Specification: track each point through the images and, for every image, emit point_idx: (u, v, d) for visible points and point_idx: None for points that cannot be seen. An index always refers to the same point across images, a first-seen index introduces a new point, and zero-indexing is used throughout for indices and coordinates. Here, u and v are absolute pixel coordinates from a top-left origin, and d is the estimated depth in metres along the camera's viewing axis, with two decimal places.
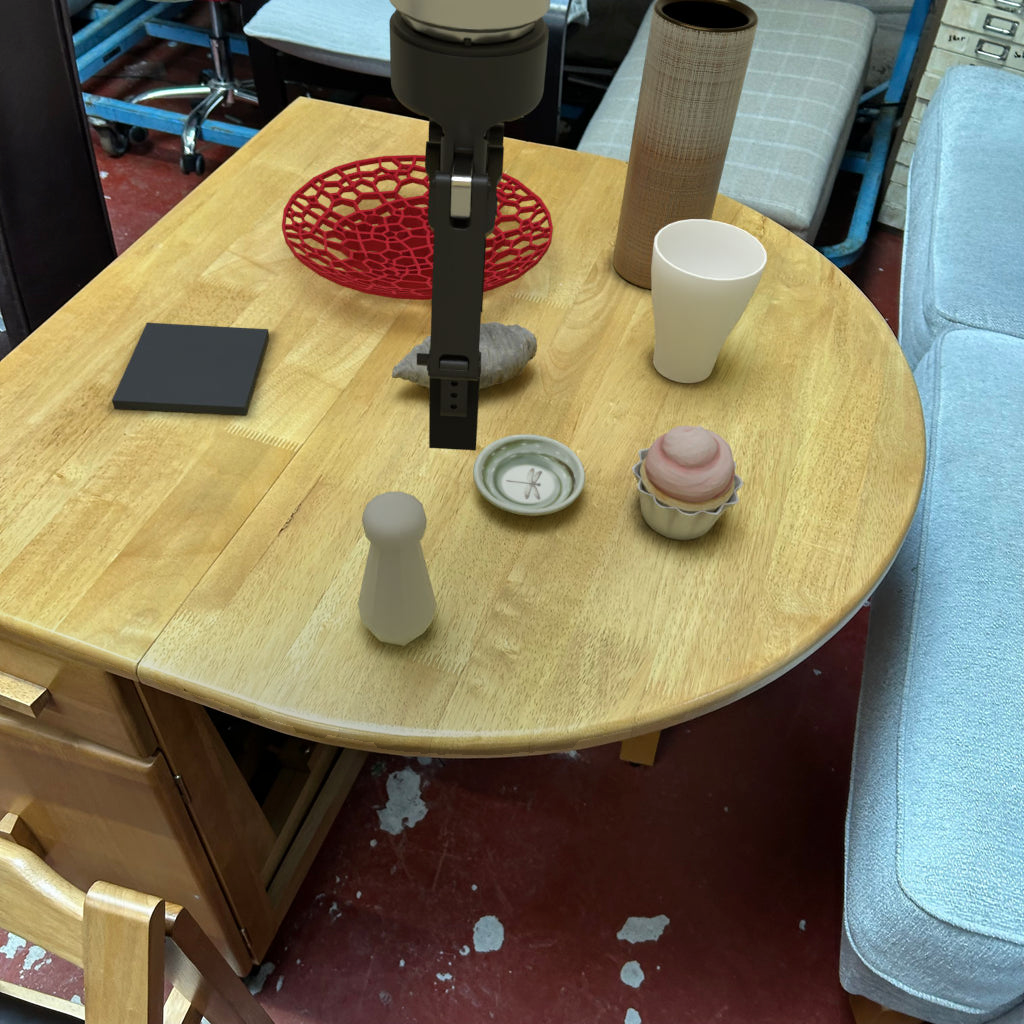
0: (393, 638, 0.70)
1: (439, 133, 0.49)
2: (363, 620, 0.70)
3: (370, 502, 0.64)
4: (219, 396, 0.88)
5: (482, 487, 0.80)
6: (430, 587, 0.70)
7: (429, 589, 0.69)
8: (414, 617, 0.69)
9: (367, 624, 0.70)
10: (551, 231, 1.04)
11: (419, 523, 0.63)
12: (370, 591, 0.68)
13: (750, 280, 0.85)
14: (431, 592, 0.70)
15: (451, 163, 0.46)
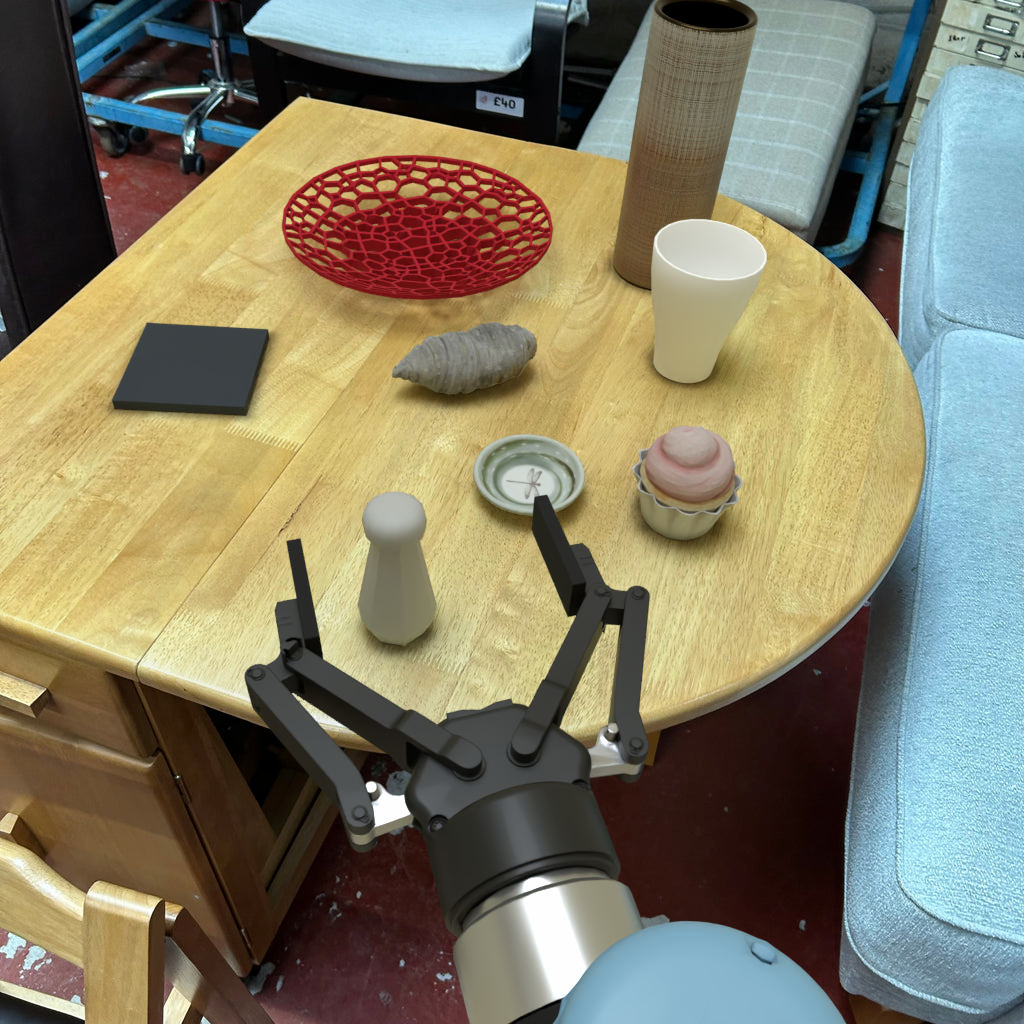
0: (393, 638, 0.70)
1: (512, 754, 0.42)
2: (363, 620, 0.70)
3: (370, 502, 0.64)
4: (219, 396, 0.88)
5: (482, 487, 0.80)
6: (430, 587, 0.70)
7: (429, 589, 0.69)
8: (414, 617, 0.69)
9: (367, 624, 0.70)
10: (551, 231, 1.04)
11: (419, 523, 0.63)
12: (370, 591, 0.68)
13: (750, 280, 0.85)
14: (431, 592, 0.70)
15: (408, 809, 0.41)
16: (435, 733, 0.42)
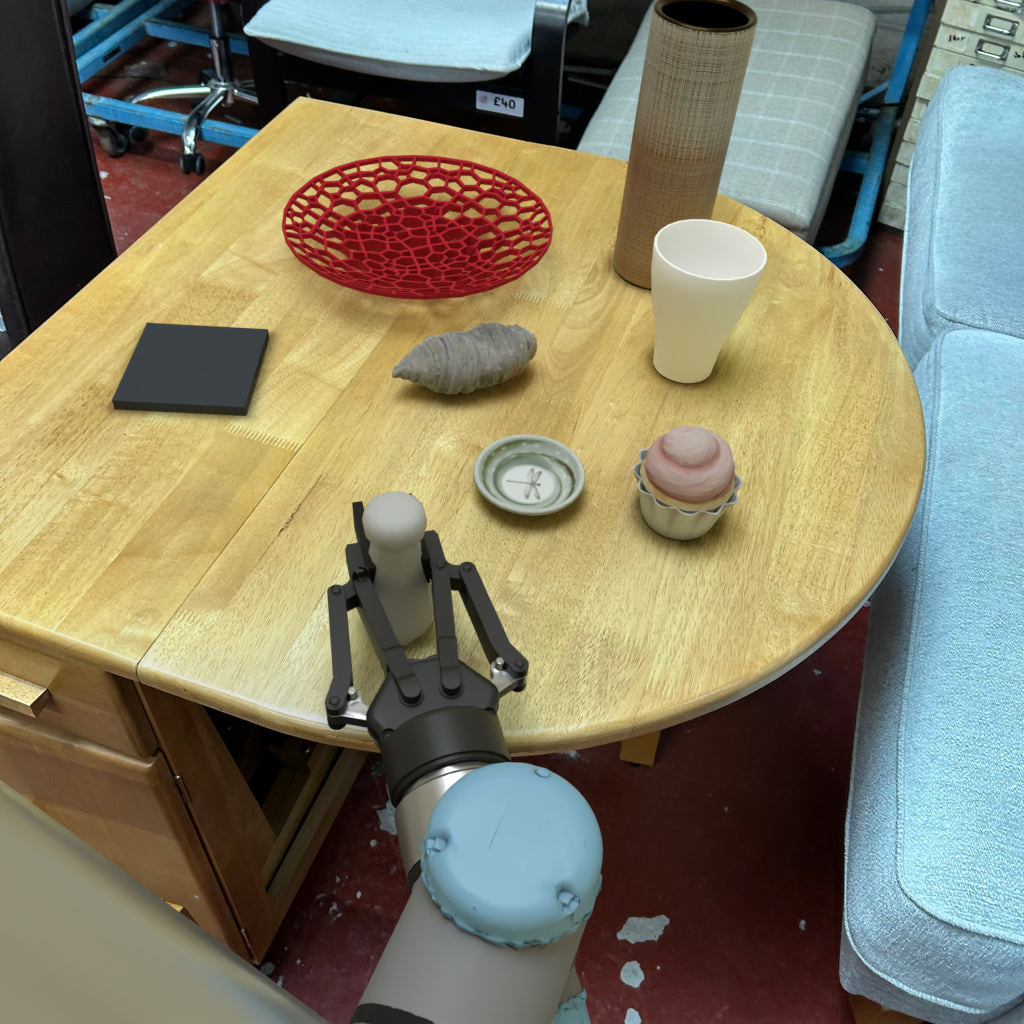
0: None
1: (446, 693, 0.59)
2: None
3: (370, 502, 0.64)
4: (219, 396, 0.88)
5: (482, 487, 0.80)
6: (430, 587, 0.70)
7: (430, 589, 0.69)
8: (414, 617, 0.69)
9: None
10: (551, 231, 1.04)
11: (419, 522, 0.63)
12: None
13: (750, 280, 0.85)
14: None
15: (368, 725, 0.58)
16: (403, 666, 0.60)
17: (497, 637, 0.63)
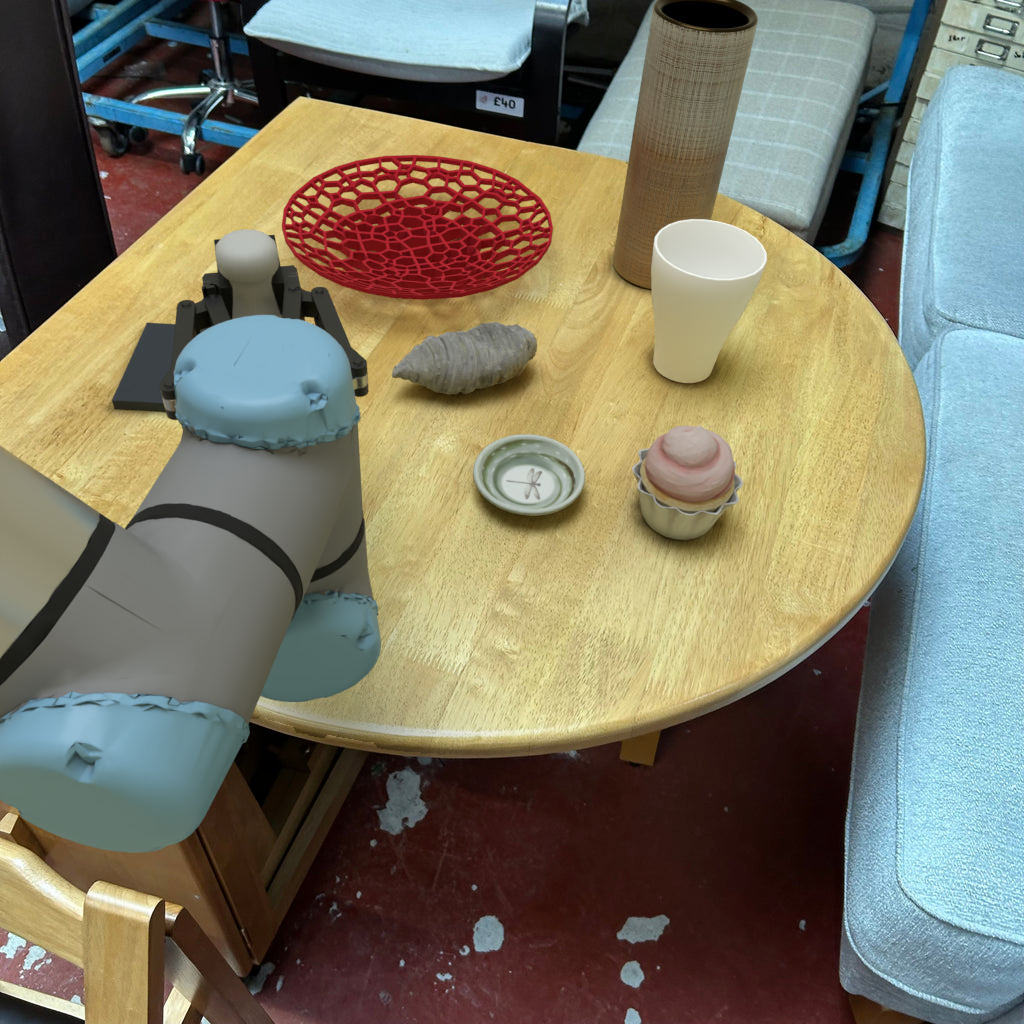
0: None
1: None
2: None
3: (223, 236, 0.66)
4: None
5: (482, 487, 0.80)
6: None
7: None
8: None
9: None
10: (551, 231, 1.04)
11: (268, 253, 0.66)
12: None
13: (750, 280, 0.85)
14: None
15: None
16: None
17: (339, 342, 0.64)
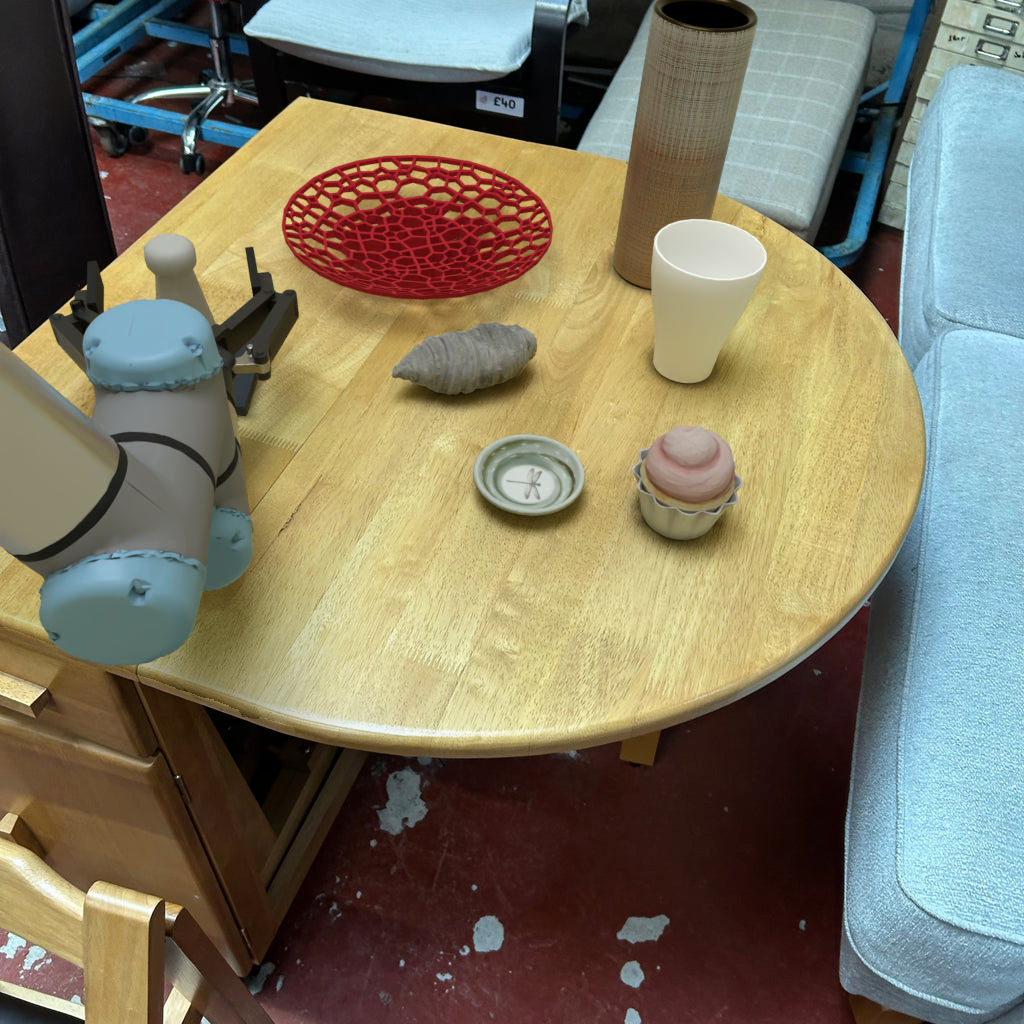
0: None
1: None
2: None
3: (150, 239, 0.82)
4: None
5: (482, 487, 0.80)
6: (211, 323, 0.88)
7: (210, 324, 0.88)
8: None
9: None
10: (551, 231, 1.04)
11: (186, 253, 0.81)
12: None
13: (750, 280, 0.85)
14: None
15: None
16: None
17: (263, 334, 0.79)
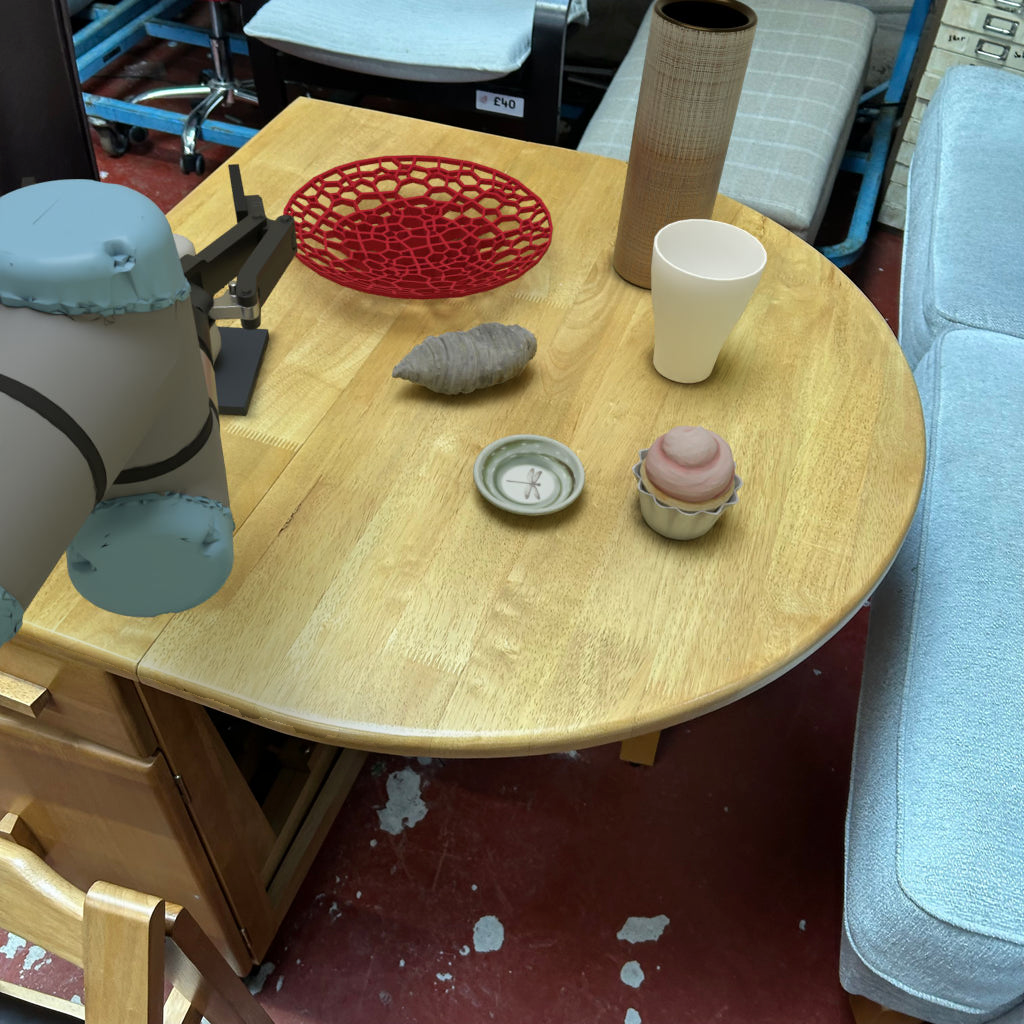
0: None
1: None
2: None
3: None
4: (219, 396, 0.88)
5: (482, 487, 0.80)
6: None
7: None
8: None
9: None
10: (551, 231, 1.04)
11: (186, 253, 0.81)
12: None
13: (750, 280, 0.85)
14: (213, 328, 0.88)
15: None
16: None
17: (250, 268, 0.60)
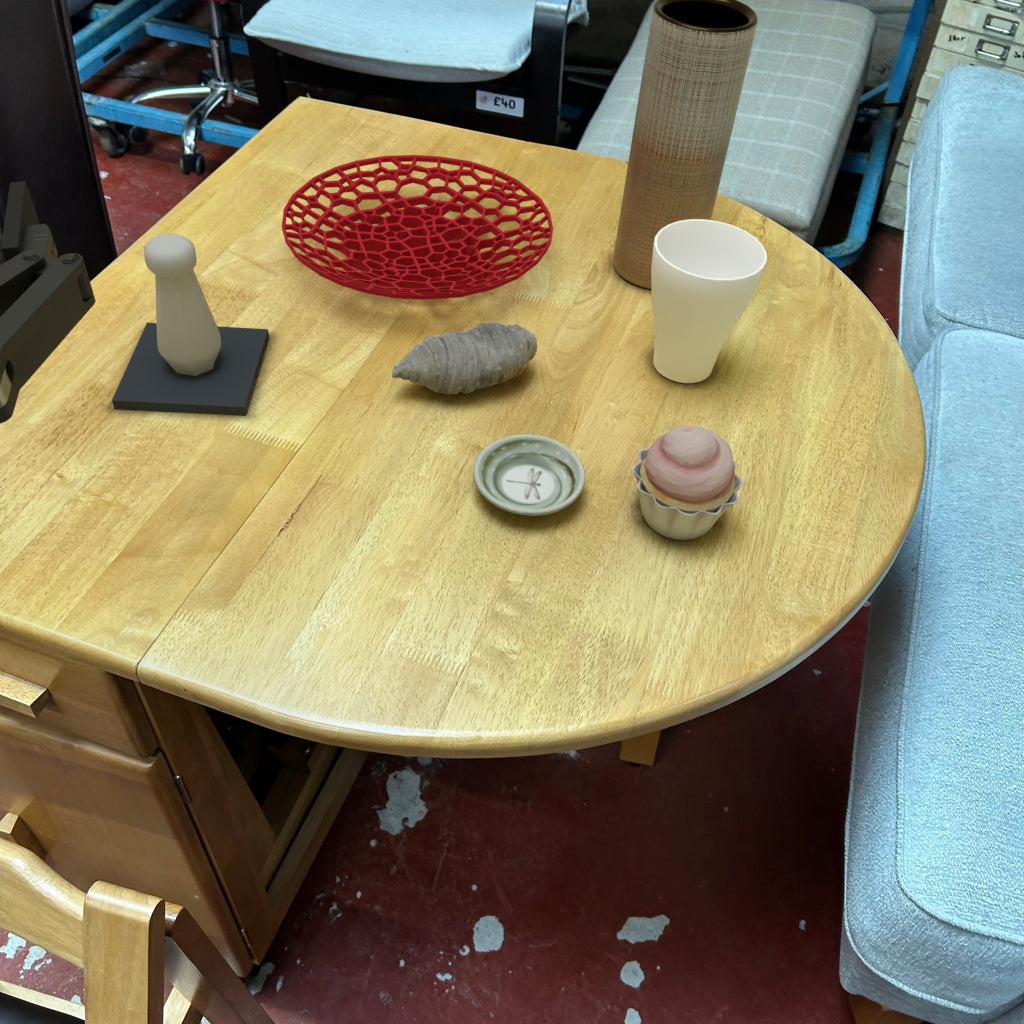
0: (182, 364, 0.88)
1: None
2: (159, 350, 0.88)
3: None
4: (219, 396, 0.88)
5: (482, 487, 0.80)
6: (211, 323, 0.88)
7: (211, 324, 0.88)
8: (197, 344, 0.87)
9: (162, 353, 0.88)
10: (551, 231, 1.04)
11: (186, 253, 0.81)
12: (159, 321, 0.86)
13: (750, 280, 0.85)
14: (213, 328, 0.88)
15: None
16: None
17: None
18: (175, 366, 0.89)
